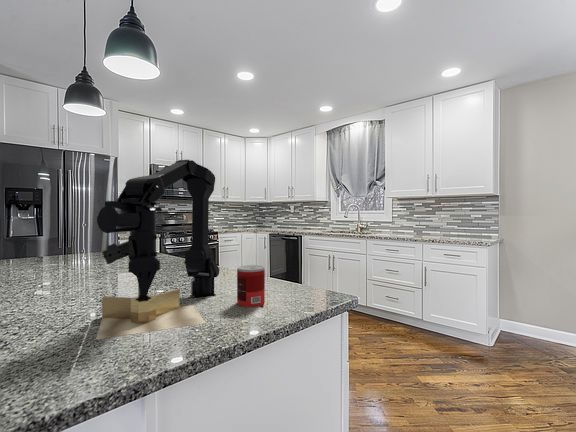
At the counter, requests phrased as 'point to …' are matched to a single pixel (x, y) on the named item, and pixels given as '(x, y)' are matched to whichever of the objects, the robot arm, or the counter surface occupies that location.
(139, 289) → the pin
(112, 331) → the mounting board
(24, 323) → the counter surface
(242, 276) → the canned food
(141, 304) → the spoked octagonal hub
